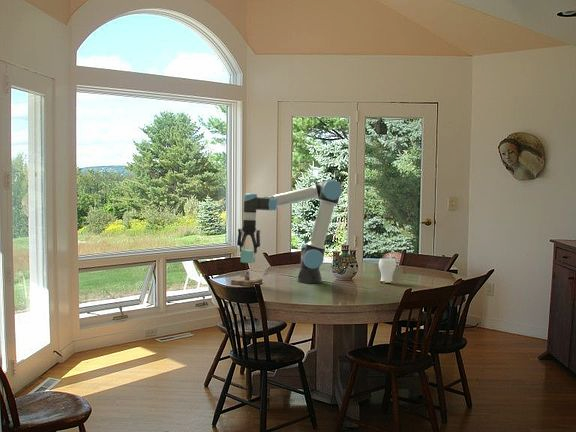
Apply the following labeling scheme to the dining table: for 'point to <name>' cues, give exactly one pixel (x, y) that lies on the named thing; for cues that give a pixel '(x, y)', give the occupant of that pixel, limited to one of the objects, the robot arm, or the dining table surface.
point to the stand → (246, 280)
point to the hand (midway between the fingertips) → (248, 258)
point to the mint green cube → (247, 256)
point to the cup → (387, 269)
